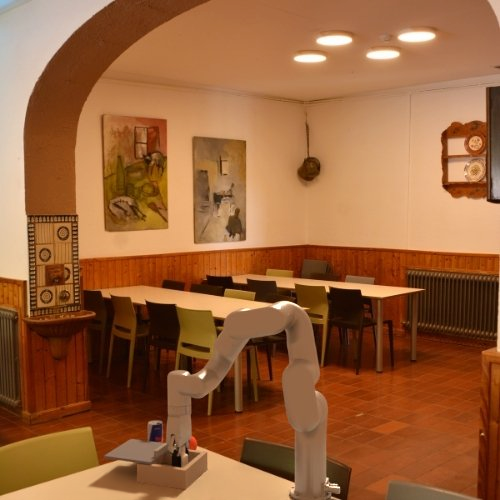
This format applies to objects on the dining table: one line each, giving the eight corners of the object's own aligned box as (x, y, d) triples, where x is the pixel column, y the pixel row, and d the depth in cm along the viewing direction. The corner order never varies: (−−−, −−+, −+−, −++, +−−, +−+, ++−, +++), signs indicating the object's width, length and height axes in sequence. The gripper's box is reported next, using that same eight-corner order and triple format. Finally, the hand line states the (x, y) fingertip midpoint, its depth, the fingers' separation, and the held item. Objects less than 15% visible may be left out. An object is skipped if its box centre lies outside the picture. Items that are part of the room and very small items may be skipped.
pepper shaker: (172, 474, 212) (171, 446, 211) (178, 470, 216) (178, 442, 215) (182, 476, 210) (182, 448, 210) (188, 472, 214) (188, 443, 213)
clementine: (174, 452, 235) (174, 432, 235) (192, 449, 238) (192, 429, 238) (181, 459, 228) (181, 439, 228) (200, 456, 231) (199, 436, 230)
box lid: (174, 446, 223) (174, 438, 222) (150, 464, 207) (150, 456, 207) (130, 441, 228) (130, 433, 228) (104, 458, 212) (104, 449, 212)
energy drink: (160, 458, 229) (159, 425, 228) (145, 457, 230) (145, 424, 229) (165, 453, 234) (164, 420, 233) (150, 452, 235) (150, 419, 234)
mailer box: (207, 469, 219) (207, 451, 219) (185, 489, 203) (185, 470, 203) (162, 463, 225) (161, 445, 224) (137, 482, 209) (137, 463, 208)
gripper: (180, 401, 221) (181, 454, 222) (156, 415, 205) (157, 472, 206) (200, 403, 218) (201, 456, 219) (178, 418, 202) (179, 475, 203)
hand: (180, 463), depth 213 cm, fingers open, 4 cm apart
